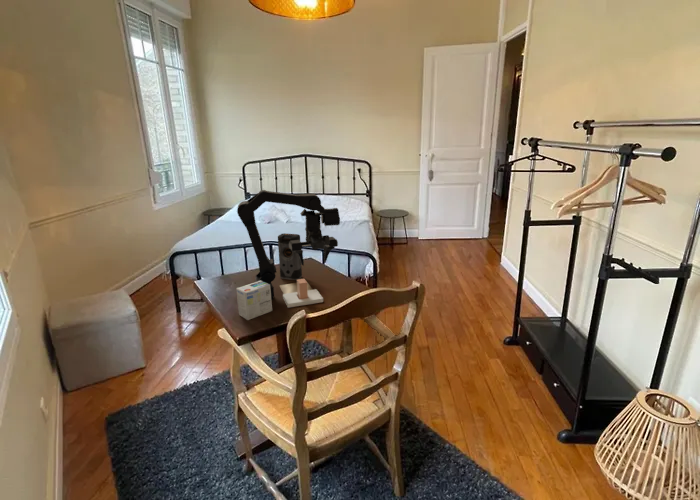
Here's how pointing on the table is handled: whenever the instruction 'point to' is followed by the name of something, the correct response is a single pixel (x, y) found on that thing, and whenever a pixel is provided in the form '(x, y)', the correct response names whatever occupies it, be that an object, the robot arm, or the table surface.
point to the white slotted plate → (293, 299)
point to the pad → (291, 288)
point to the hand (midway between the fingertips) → (313, 264)
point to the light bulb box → (254, 299)
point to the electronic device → (289, 258)
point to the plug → (302, 289)
